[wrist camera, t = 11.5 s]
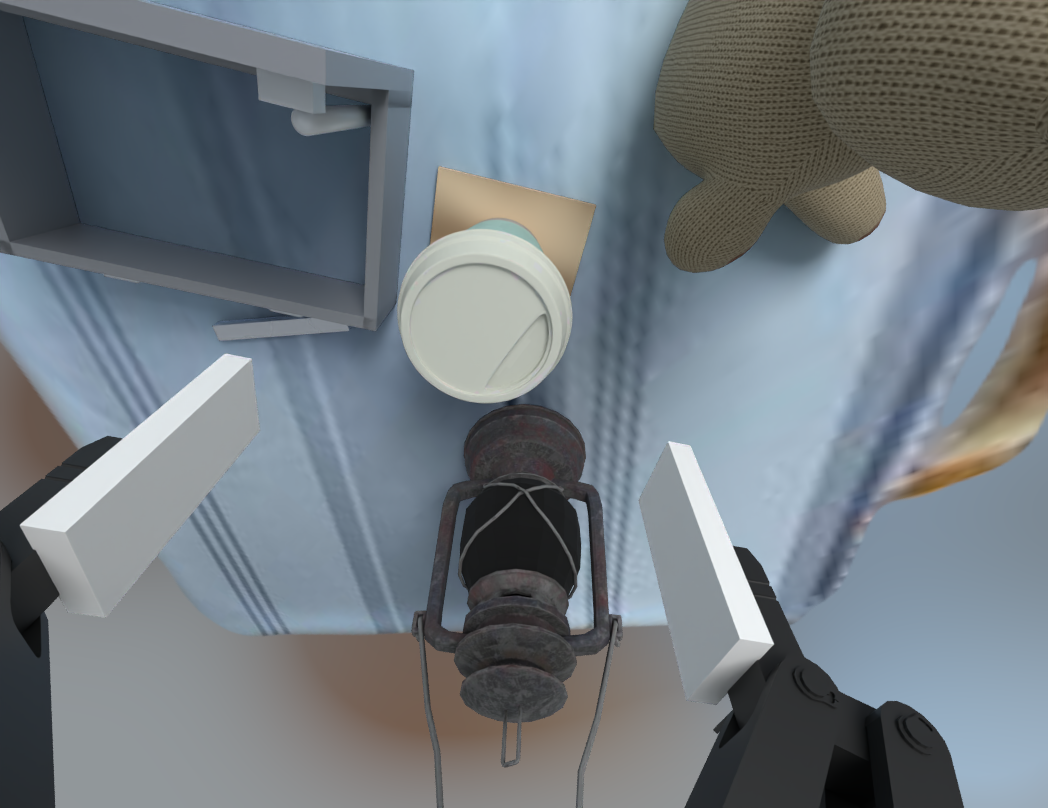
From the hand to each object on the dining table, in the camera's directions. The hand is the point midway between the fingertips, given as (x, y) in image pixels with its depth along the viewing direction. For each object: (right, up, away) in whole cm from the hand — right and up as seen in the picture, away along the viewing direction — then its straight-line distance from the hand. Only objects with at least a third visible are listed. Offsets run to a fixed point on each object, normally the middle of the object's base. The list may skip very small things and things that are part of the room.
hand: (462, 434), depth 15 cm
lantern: (+2, -3, +26) cm, 27 cm away
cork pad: (+1, +11, +17) cm, 20 cm away
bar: (-16, +7, +20) cm, 27 cm away
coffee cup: (0, +11, +17) cm, 20 cm away
